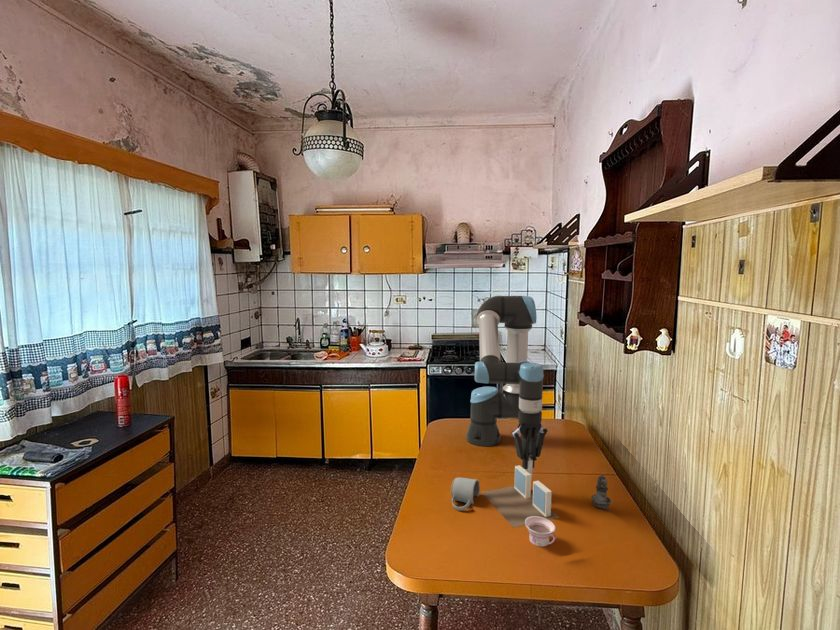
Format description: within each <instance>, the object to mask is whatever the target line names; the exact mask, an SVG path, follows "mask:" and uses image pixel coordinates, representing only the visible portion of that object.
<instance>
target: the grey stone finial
mask: <svg viewBox="0 0 840 630" xmlns="http://www.w3.org/2000/svg"><path fill="white" fill-rule="evenodd" d="M596 482H597V483H596V486H595V489H596V493H595V494H593V495H591V500H592V504H593V505H594V506H595V507H596V508H597V509H600V510H605V509H606V510H607V511H608V512H610V509H609V507H610V505H611V503H612V499H611V498H610V497H608V495H607V494H608V493H607V492H608V490H609V488H608V479H607V478H606V476H604V474H603V473H602V474H601V475H599V476H598V477H597V481H596Z"/></svg>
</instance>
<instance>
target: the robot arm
mask: <svg viewBox="0 0 840 630" xmlns="http://www.w3.org/2000/svg"><path fill="white" fill-rule="evenodd" d="M537 317H538V316H537V306H536V303H535V300H534V298H533V297H532V296H527V295H494V296H491V297H489V298H487V299H486V300H484V301H483V303H481V305H480V306H479V307H478V310H477V312H476V324H477V325H478V331H479V333H478V334H479V335H478V336H479V340H478V342H479V361H476V362H475V363H474V381H475V382H476V383H478V384H479V383H480V384H493V385H494V384H495V385H496V384H500V385H503V384H504V385H503V387H502V391H501V390H498V388H497V387H496V386H482V387H477V388H475V389H473V390H471V395H470V401H469V402H470V423H469V426H468V427H467V430H466V434H465V435H466V437H465V438H466V439H465V440H466V441H467V442H468V443H470V444H472V445H475V446H479V447H480V446H481V447H491V446H496V445H498V444H499V443H500V442H501V433H500V430H499V427H498V419H511V420H512V419H514V420H518V424H517V429H515V430H512V431H511V432H510V433H511V436H512V437H513V441H514V446H515V451H516V456H517V457H518V458H519V459H520V460H522V466H521V467H522V468H523V469H525V470H526V471H527V472H528V473H530V474H531V480H532V479H533V469H534V468H535V462H536V461H537V460H538V459H537V458H540V456H541V454H542V453H541V452H542V450H543V449H542V448H543V445H544V441H545V436H546V434H547V432H548V428H546V427H544V426H543V425H542V419H543V412H542V410H543V387H544V377H545V374H544V366H543V365H542V364H541V363H537V362H531V361H528V352H529V351H528V350H529V331H531V330H532V329H533V325H535V324H537ZM499 324H504V328H505V330H507V350H506V351H507V354H506V362H504V361H503V362H501V350H500V336H499Z"/></svg>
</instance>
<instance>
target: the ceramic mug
mask: <svg viewBox="0 0 840 630" xmlns="http://www.w3.org/2000/svg"><path fill="white" fill-rule="evenodd" d="M480 486H481V485H480V482H479V480H478V479H475V478H468V477H467V478H466V477H460V476H459V477H455V478H453V480H452V482H451V486H450V495H451V496H450V497H451V504H452V507H453V509H455V510H456V511H462V512H463V511H466V510H467V509H468V508H469V507H470V505H474V504H475V503H474V496H475V497H479V496H480ZM455 501H458V502H461V503H465V505H463V506H457V505H456V504H455Z"/></svg>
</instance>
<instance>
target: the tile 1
mask: <svg viewBox="0 0 840 630" xmlns="http://www.w3.org/2000/svg"><path fill="white" fill-rule="evenodd" d="M531 483H532V479H531V474H530V473H528V472H527V471H526V470H525V469H524V468H523V467H522V466H521V465H519V464H518V465H514V484H513V486H514V488H515V489H516V490H517V491H518V492H519V493H520V494H521V495H522V496H523V497H524V498H530V493H532V492H531V489H532V488H531V487H532V484H531Z"/></svg>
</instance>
